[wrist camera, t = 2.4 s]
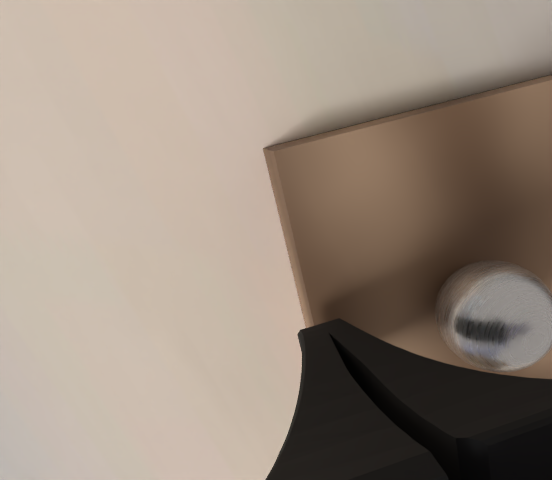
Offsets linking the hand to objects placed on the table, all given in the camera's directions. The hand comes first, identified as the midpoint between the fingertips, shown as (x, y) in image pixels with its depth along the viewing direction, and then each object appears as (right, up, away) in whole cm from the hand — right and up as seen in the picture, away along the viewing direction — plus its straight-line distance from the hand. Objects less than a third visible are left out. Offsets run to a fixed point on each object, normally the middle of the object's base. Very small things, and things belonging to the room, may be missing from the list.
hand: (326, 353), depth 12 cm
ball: (+5, +1, 0) cm, 5 cm away
